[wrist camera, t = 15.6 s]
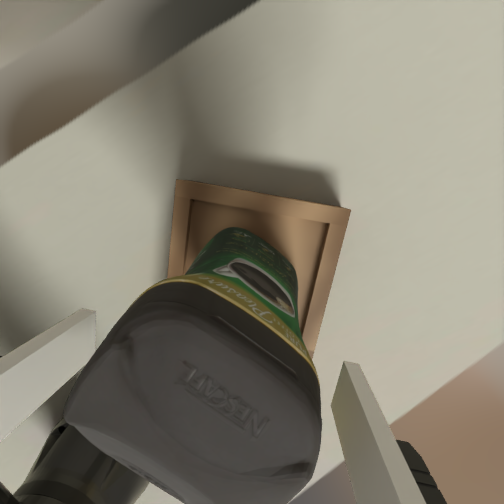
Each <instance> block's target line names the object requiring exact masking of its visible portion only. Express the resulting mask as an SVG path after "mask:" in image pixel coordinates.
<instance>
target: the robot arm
mask: <svg viewBox="0 0 504 504" xmlns="http://www.w3.org/2000/svg"><path fill="white" fill-rule="evenodd" d="M95 339H96V311H93V310H88V309H83V308H82V309H80V310H79V311H77V312H75V313H74V314H72V315H71V316H69V317H67V318H66V319H64V320H62V321H61V322H59V323H57V324H56V325H54V326H52V327H51V328H49V329H47V330H46V331H44V332H43V333H41V334H39V335H38V336H36V337H34V338H33V339H31V340H29V341H28V342H26V343H24V344H23V345H21V346H19V347H18V348H16V349H14V350H13V351H11V352H10V353H8V354H6V355H5V356H0V442H1V441H2V440H4V439H5V438H6V437H7V436H8V435H9V434H10V433H11V432H12V431H13V430H15V429H16V428H17V427H18V426H19V425H20V424H21V423H22V422H23V421H24V420H25V419H27V418H28V417H29V416H30V415H31V414H32V413H33V412H34V411H35V410H36V409H38V408H39V407H40V406H41V405H42V404H43V403H44V402H45V401H46V400H47V399H48V398H50V397H51V396H52V395H53V394H54V393H55V392H56V391H57V390H58V389H59V388H60V387H62V386H63V385H64V384H65V383H66V382H67V381H68V380H69V379H70V378H71V377H73V376H74V375H75V374H76V373H77V372H78V371H79V370H80V369H81V368H82V367H83V366H85V365H86V364H87V363H88V361H89V360H90V358H91V357H92V356H93V354H94V353H95ZM331 408H332V412H333V416H334V420H335V424H336V427H337V431H338V435H339V439H340V443H341V447H342V451H343V455H344V458H345V462H346V466H347V470H348V474H349V478H350V482H351V486H352V489H353V493H354V497H355V501H356V504H447V503H446V501H445V499H444V497H443V495H442V494H441V492H440V490H438V488H437V485H436V483H435V481H434V479H433V477H432V476H430V472H429V470H428V468H427V467H426V464H425V463H424V461H423V459H422V457H421V456H420V455H419V454H418V453H417V452H416V450H415V449H414V448H413V447H412V446H411V445H410V443H408V442H405V441H400V440H395V438H394V436H393V434H392V432H391V430H390V427H389V425H388V423H387V421H386V419H385V417H384V415H383V413H382V411H381V409H380V407H379V404H378V402H377V400H376V398H375V396H374V394H373V392H372V390H371V388H370V386H369V384H368V382H367V380H366V378H365V375H364V373H363V371H362V369H361V367H360V365H359V364H356V363H352V362H347V361H344V362H343V365H342V369H341V372H340V376H339V379H338V383H337V386H336V389H335V393H334V396H333V400H332V403H331ZM148 484H149V481H147V480H146V479H144V478H143V477H141V476H140V475H138V474H136V473H135V472H133V471H132V470H130V469H129V468H127V467H126V466H124V465H122V464H121V463H119V462H118V461H116V460H115V459H113V458H112V457H111V456H109V455H107V454H105V453H104V452H103V451H101V450H100V449H98V448H97V447H96V446H95V445H93V444H92V443H91V442H90V441H89V440H87V439H86V438H85V437H84V436H83V435H82V434H81V433H80V432H79V431H78V430H77V429H76V428H75V426H72V425H69V424H68V423H67V422H66V421H65V419H64V418H63V419H62V420H61V421H60V422H59V423H58V424H57V425H56V426H55V428H54V429H53V430H52V432H51V433H50V435H49V437H48V439H47V440H46V442H45V444H44V446H43V448H42V450H41V452H40V453H39V455H38V457H37V459H36V461H35V463H34V465H33V466H32V468H31V470H30V472H29V474H28V476H27V478H26V479H25V481H24V483H23V484H22V485H21V486H20V487H19V489H18V490H17V491H16V492H15V493H14V494H13V495H12V494H11V493H10V492H9V490H8V489H7V488H6V487H5V486H4V485H3V484H2V483H1V482H0V504H134V503H135V501H136V500H137V499H138V498H139V496H140V495H141V494H142V493H143V492H144V490H145V489H146V487H147V485H148Z"/></svg>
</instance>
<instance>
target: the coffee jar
mask: <svg viewBox="0 0 504 504" xmlns="http://www.w3.org/2000/svg"><path fill="white" fill-rule="evenodd" d="M63 415H64V419H65V421H66V422H67V423H68V424H69V425H72V426H75V428H76V429H77V430H78V431H79V432H80V433H81V434H82V435H83V436H84V437H85V438H86V439H87V440H89V441H90V442H91V443H92V444H93V445H95V446H96V447H97V448H98V449H100V450H101V451H103V452H104V453H105V454H107V455H109V456H111V457H112V458H113V459H115V460H116V461H118V462H119V463H121V464H122V465H124V466H126V467H127V468H129V469H130V470H132V471H133V472H135V473H136V474H138V475H140V476H141V477H143V478H144V479H146V480H147V481H149V482H151V483H152V484H154V485H156V486H157V487H159V488H160V489H162V490H163V491H165V492H167V493H168V494H170V495H172V496H173V497H175V498H177V499H178V500H180V501H181V502H182V503H184V504H287V503H288V502H289V501H290V500H291V499H292V498H293V497H294V496H295V495H296V494H298V493H299V492H300V491H301V490H302V489H303V488H304V487H305V486H306V484H307V483H308V482H309V481H310V480H311V478H312V476H313V473H314V470H315V466H316V463H317V459H318V455H319V451H320V444H321V431H322V419H321V400H320V384H319V379H318V375H317V372H316V369H315V366H314V364H313V362H312V359H311V357H310V355H309V353H308V351H307V348H306V346H305V344H304V341H303V339H302V336H301V332H300V327H299V320H298V280H297V274H296V271H295V269H294V267H293V265H292V264H291V263H290V262H289V261H288V260H287V259H286V258H285V257H284V256H283V255H282V254H281V253H280V252H279V251H277V250H276V249H275V248H274V247H272V246H271V245H270V244H269V243H267V242H266V241H264V240H263V239H262V238H260V237H258V236H257V235H255V234H253V233H251V232H250V231H248V230H246V229H243V228H239V227H229V228H226V229H223V230H221V231H220V232H218V233H217V234H216V235H215V236H214V237H213V238H212V239H211V240H210V241H209V242H208V243H207V244H206V245H205V247H204V248H203V249H202V250H201V252H200V253H199V254H198V256H197V257H196V258H195V260H194V262H193V263H192V265H191V266H190V268H189V269H188V270H187V272H186V273H185V274H184V275H181V276H175V277H171V278H168V279H165V280H162V281H160V282H158V283H156V284H154V285H153V286H151V287H150V288H148V289H147V290H146V291H144V292H143V293H142V294H141V295H140V296H139V297H138V298H137V299H136V300H135V301H134V302H133V303H132V305H131V306H130V307H129V308H128V310H127V311H126V312H125V313H124V315H123V316H122V317H121V318H120V319H119V321H118V322H117V323H116V324H115V325H114V327H113V328H112V329H111V331H110V332H109V334H108V335H107V337H106V338H105V340H104V341H103V342H102V344H101V345H100V346H99V348H98V349H97V350H96V352H95V353H94V354H93V356H92V357H91V358H90V360H89V361H88V363H87V364H86V366H85V368H84V369H83V371H82V372H81V374H80V376H79V377H78V379H77V381H76V383H75V385H74V386H73V388H72V390H71V393H70V395H69V397H68V399H67V402H66V404H65V408H64V412H63Z"/></svg>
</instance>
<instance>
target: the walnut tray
mask: <svg viewBox="0 0 504 504" xmlns="http://www.w3.org/2000/svg"><path fill="white" fill-rule="evenodd" d="M350 212H351V210H350V209H347V208H343V207H339V206H333V205H327V204H322V203H316V202H310V201H304V200H299V199H293V198H287V197H281V196H276V195H270V194H264V193H258V192H253V191H247V190H241V189H235V188H230V187H224V186H218V185H212V184H207V183H201V182H195V181H189V180H178V179H176V187H175V198H174V209H173V220H172V232H171V243H170V254H169V265H168V277H167V279H168V278H171V277H175V276H181V275H184V274H185V273H186V272H187V270H188V269H189V268H190V266H191V265H192V263H193V262H194V260H195V258H196V257H197V256H198V254H199V253H200V252H201V250H202V249H203V248H204V247H205V245H206V244H207V243H208V242H209V241H210V240H211V239H212V238H213V237H214V236H215V235H216V234H217V233H218V232H220V231H221V230H223V229H226V228H229V227H239V228H243V229H246V230H248V231H250V232H251V233H253V234H255V235H257V236H258V237H260V238H262V239H263V240H264V241H266V242H267V243H269V244H270V245H271V246H272V247H274V248H275V249H276V250H277V251H279V252H280V253H281V254H282V255H283V256H284V257H285V258H286V259H287V260H288V261H289V262H290V263H291V264H292V265H293V267H294V269H295V271H296V274H297V280H298V320H299V327H300V332H301V336H302V339H303V341H304V344H305V346H306V348H307V351H308V353H309V355H310V357H311V359H312V358H313V354H314V350H315V346H316V342H317V339H318V335H319V331H320V327H321V323H322V319H323V316H324V312H325V308H326V304H327V300H328V297H329V293H330V289H331V285H332V281H333V277H334V274H335V270H336V266H337V262H338V258H339V254H340V251H341V247H342V243H343V239H344V235H345V231H346V228H347V224H348V220H349V216H350Z"/></svg>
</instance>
